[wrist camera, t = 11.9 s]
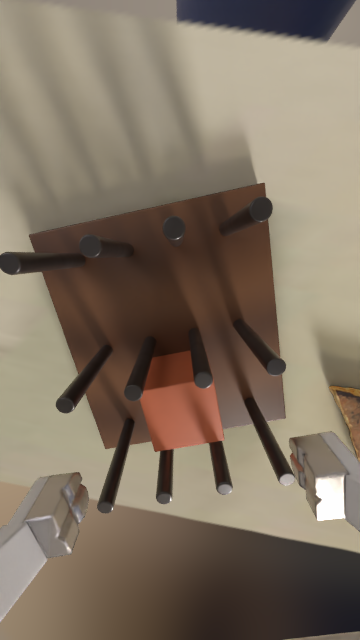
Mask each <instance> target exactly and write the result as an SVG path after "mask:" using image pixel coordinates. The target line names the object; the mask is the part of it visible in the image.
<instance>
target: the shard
mask: <svg viewBox="0 0 360 640" xmlns="http://www.w3.org/2000/svg"><path fill="white" fill-rule="evenodd" d="M329 389H330V391H331V392H332V394H333V396H334V400H335V402H336V403H337V405H338V406H339V408H340V409H341V412H342V415H343V417H344V420H345V421H346V424H347V426H348V427H349V430H350V432H351V433H350V438H351V441H352V443H353V446H354V447H355V450H356V454H357V458H358V460H359V462H360V390H359V389H354V388H343V387H338V386H329Z"/></svg>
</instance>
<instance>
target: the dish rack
mask: <svg viewBox="0 0 360 640" xmlns="http://www.w3.org/2000/svg"><path fill="white" fill-rule="evenodd" d="M272 210H273V207H272V203H271V201H270V200H269V199H268V198H266V192H265V183H260V184H256V185H251V186H247V187H242V188H238V189H233V190H229V191H224V192H220V193H215V194H211V195H206V196H202V197H197V198H192V199H188V200H183V201H179V202H174V203H170V204H165V205H161V206H156V207H152V208H147V209H143V210H138V211H134V212H129V213H125V214H120V215H116V216H111V217H107V218H102V219H97V220H93V221H88V222H84V223H79V224H75V225H70V226H66V227H61V228H57V229H52V230H48V231H43V232H39V233H34V234H30V235H29V237H30V240H31V243H32V246H33V248H34V251H35V253H34V252H5V253H3V254H1V255H0V268H1V270H2V271H3V272H5V273H7V274H9V275H17V274H25V273H34V272H42V273H43V276H44V279H45V282H46V285H47V287H48V290H49V293H50V296H51V298H52V301H53V304H54V307H55V310H56V312H57V315H58V318H59V321H60V324H61V326H62V329H63V332H64V335H65V338H66V340H67V343H68V346H69V349H70V351H71V354H72V357H73V360H74V363H75V365H76V368H77V371H78V374H79V375H78V376H77V377H76V378H75V379H74V381H73V382H72V383H71V384H70V385H69V387H68V388H67V389H66V390H65V391H64V393H63V394H62V395H61V396H60V397H59V398H58V400H57V401H56V407H57V409H58V410H59V411H60V412H62V413H70V412H72V411H73V410H74V409H75V407H76V406H77V404H78V403H79V401H80V400H81V398H82V397H83V395H84V394H85V393H86V396H87V399H88V402H89V404H90V407H91V410H92V413H93V416H94V418H95V421H96V424H97V427H98V430H99V432H100V435H101V438H102V441H103V443H104V446H105V449H109V448H115V447H116V450H115V453H114V456H113V459H112V462H111V465H110V468H109V471H108V474H107V477H106V480H105V483H104V486H103V489H102V492H101V495H100V498H99V502H98V505H97V508H98V510H99V511H100V512H102V513H109V512H111V511H112V510H113V507H114V503H115V499H116V496H117V492H118V488H119V484H120V480H121V476H122V472H123V469H124V465H125V461H126V457H127V453H128V449H129V446H130V445H132V444H138V443H144V442H150V441H152V440H151V437H150V433H149V430H148V426H147V423H146V420H145V416H144V413H143V409H142V406H141V402H140V399H141V397H142V396H143V392H144V388H145V384H146V380H147V376H148V372H149V369H150V365H151V361H152V358H153V357H158V356H164V355H169V354H174V353H180V352H185V351H190V352H191V361H192V369H193V377H194V383H195V385H196V386H197V387H199V388H201V389H205V388H208V387H210V386H211V384H212V383H213V379H214V384H215V390H216V395H217V401H218V406H219V412H220V417H221V423H222V428H223V429H227V428H233V427H239V426H244V425H250V424H254V427H255V429H256V431H257V433H258V436H259V438H260V440H261V442H262V445H263V447H264V449H265V451H266V454H267V456H268V458H269V461H270V463H271V465H272V467H273V470H274V472H275V474H276V476H277V479H278V481H279V482H280V483H281V484H282V485H290V484H292V483H293V482H294V481H295V475H294V473H293V472H292V470H291V468H290V466H289V464H288V462H287V460H286V458H285V456H284V454H283V453H282V451H281V449H280V447H279V445H278V443H277V441H276V439H275V437H274V435H273V434H272V432H271V430H270V428H269V426H268V424H267V422H268V421H274V420H280V419H285V418H286V416H285V405H284V394H283V383H282V373H283V372H284V371H285V369H286V364H285V362H284V361H283V360H282V359H281V358H280V349H279V338H278V327H277V315H276V304H275V293H274V282H273V271H272V259H271V248H270V237H269V226H268V218H269V217H270V216H271V214H272ZM205 350H206V351H205ZM206 354H207V355H206ZM207 357H208V358H207ZM208 361H209V362H208ZM209 364H210V366H209ZM210 368H211V369H210ZM211 372H212V373H211ZM212 375H213V376H212ZM209 446H210V453H211V459H212V465H213V471H214V478H215V484H216V489H217V491H218V493H220V494H222V495H226V494H229V493H230V492H231V491H232V488H233V486H232V482H231V477H230V473H229V469H228V464H227V460H226V456H225V452H224V447H223V443H222V441H217V442H211V443H209ZM173 452H174V449H169V450H163V451H160V460H159V471H158V481H157V492H156V499H157V501H158V502H159V503H161V504H167V503H169V502H170V501H171V500H172V489H173Z"/></svg>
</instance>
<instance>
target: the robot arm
mask: <svg viewBox="0 0 360 640" xmlns="http://www.w3.org/2000/svg"><path fill="white" fill-rule="evenodd" d="M289 447H290V449H291V450H292V452H293V453H292V454H291V455H290V459H291V465H292V469H293V472H294V475H295V477H296V479H297V481H298V483H299V485H300V486H301V487H302V488H304V489H305V490H306V499H307V501H308V503H309V505H310V507H311V509H312V511H313V513H314V514H315V516H316V518H317V520H327V519H337V518H345V520H347V521H348V522H349V523H350V524H351V525H352V526H354V527H355V528H356V529H357V530H358V531H359V532H360V462H359V461H358V460H357V458H356V457H355V456H354V455H353V454H352V453H351V451H350V450H349V449H348V448H347V447H346V446H345V444H344V443H343V442H342V441H341V440H340V439H339V438H338V436H337V435H336V434H335V433H334V432H332V431H330V432H324V433H318V434H311V435H306V436H300V437H294V438H290V439H289ZM81 481H82V477H81V475H80V473H79V472H74V473H66V474H59V475H52V476H45V477H40V478H38V479H37V480H36V481H35V482H34V484H33V486H32V487H31V489H30V490H29V492H28V493H27V495H26V497H25V498H24V500H23V501H22V503H21V505H20V506H19V508H18V509H17V511H16V513H15V514H14V516H13V517H12V519H11V520H10V522H9V523H8V525H4V526H2V527H1V528H0V622H1V621H2V619H3V618H4V617H5V615H6V614H7V613H8V611H9V610H10V609H11V607H12V606H13V605H14V603H15V602H16V601H17V599H18V598H19V597H20V596H21V594H22V593H23V592H24V590H25V589H26V588H27V586H28V585H29V584H30V582H31V581H32V580H33V578H34V577H35V576H36V574H37V573H38V572H39V570H40V569H41V568H42V566H43V565H44V563H46V561H47V558H51V557H57V556H63V555H69V554H71V553H72V550H73V548H74V545H75V542H76V539H77V536H78V534H79V527H78V524H79V523H80V522H81V520H82V519H83V518H84V517H85V514H86V511H87V508H88V500H89V497H88V491H87V489H86V487H85V486H83V485H82V484H80V483H81ZM286 640H360V632H351V633H341V634H332V635H323V636H314V637H305V638H296V639H286Z"/></svg>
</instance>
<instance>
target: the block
mask: <svg viewBox="0 0 360 640" xmlns="http://www.w3.org/2000/svg"><path fill="white" fill-rule="evenodd" d="M205 351H206V350H205ZM206 355H207V354H206ZM207 358H208V357H207ZM208 362H209V361H208ZM209 366H210V364H209ZM210 369H211V368H210ZM211 373H212V372H211ZM212 376H213V375H212ZM140 402H141V406H142V409H143V413H144V416H145V420H146V423H147V426H148V430H149V433H150V437H151V440H152V444H153V447H154V451H155V452H157V451H163V450H169V449H175V448H181V447H187V446H193V445H199V444H205V443H211V442H217V441H223V440H224V434H223V428H222V423H221V417H220V412H219V406H218V401H217V395H216V390H215V384H214V379H213V383H212V384H211V386H210V387H208V388H205V389H201V388H199V387H197V386H196V385H195V383H194V377H193V369H192V361H191V352H190V351H185V352H180V353H174V354H169V355H164V356H158V357H153V358H152V361H151V365H150V369H149V372H148V376H147V380H146V384H145V388H144V392H143V396H142V397H141V399H140Z"/></svg>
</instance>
